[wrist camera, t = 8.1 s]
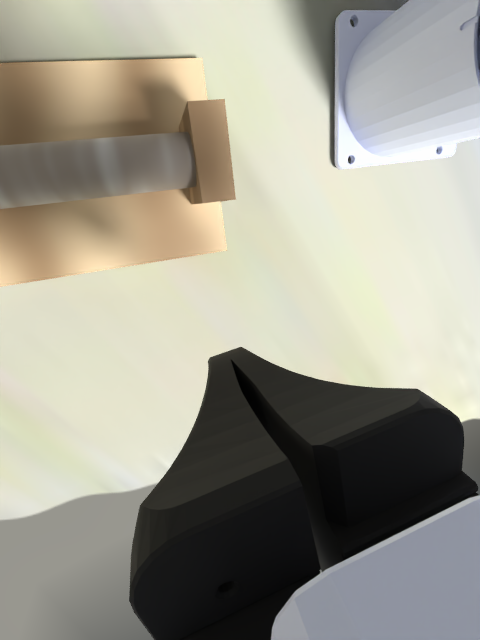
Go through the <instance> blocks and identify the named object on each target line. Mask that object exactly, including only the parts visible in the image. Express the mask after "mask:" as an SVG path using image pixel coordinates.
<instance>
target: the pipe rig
mask: <svg viewBox="0 0 480 640" xmlns="http://www.w3.org/2000/svg"><path fill="white" fill-rule="evenodd" d="M235 199H236V198H235V189H234V180H233V171H232V162H231V153H230V144H229V135H228V126H227V117H226V108H225V99H219V100H208V99H207V92H206V84H205V76H204V68H203V61H202V58H178V59H136V60H95V61H54V62H13V63H0V287H2V286H8V285H14V284H21V283H27V282H33V281H39V280H45V279H52V278H58V277H64V276H70V275H77V274H83V273H89V272H95V271H101V270H108V269H114V268H120V267H126V266H133V265H139V264H145V263H151V262H158V261H164V260H170V259H176V258H182V257H189V256H195V255H201V254H207V253H214V252H220V251H226V250H227V246H226V239H225V231H224V223H223V215H222V208H221V201H227V200H235Z"/></svg>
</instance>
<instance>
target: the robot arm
mask: <svg viewBox="0 0 480 640" xmlns="http://www.w3.org/2000/svg"><path fill="white" fill-rule="evenodd" d="M350 19H352V20H353V22H354V27H352V26H351V24H350ZM477 138H480V0H409V1H408V2H406V3H405V4H404V5H403V6H402V7H400V8H399V9H398V10H344V11H342V12H341V13H340V14H339V15H338V16H337V18H336V22H335V166H336V167H337V168H338V169H350V168H358V167H367V166H376V165H385V164H394V163H403V162H412V161H421V160H429V159H438V158H447V157H451V156H452V155H453V154H454V153H455V151H456V146H457V143H459V142H463V141H468V140H473V139H477ZM437 149H438V151H437V153H436V150H437ZM349 156H350V157H351V163H350V164H349V163H348V157H349ZM208 365H209V370H208V379H207V385H206V390H205V394H204V398H203V401H202V405H201V408H200V411H199V414H198V416H197V419H196V421H195V424H194V426H193V428H192V430H191V432H190V434H189V437H188V439H187V441H186V442H185V444H184V446H183V448H182V450H181V451H180V453H179V455H178V456H177V458H176V459H175V461H174V462H173V464H172V466H171V467H170V469H169V470H168V471H167V473H166V474H165V475H164V477H163V478H162V479H161V480H160V482H159V483H158V484H157V485H156V487H155V488H154V489H153V491H152V492H151V493H150V494H149V495H148V497H147V498H146V499H145V500H144V501H143V503H142V504H141V505H140V509H139V513H138V518H137V522H136V527H135V534H134V539H133V544H132V553H131V572H130V597H129V601H130V603H131V606H132V608H133V610H134V613H135V614H136V615H137V617H138V618H139V619H140V621H141V622H142V623H143V625H144V626H145V628H146V629H147V630H148V632H149V633H150V634H151V636H152V637H153V638H154V640H480V495H478V494H477V493H476V491H478V486H477V484H476V482H475V481H473V480H472V479H471V478H470V477H469V476H467V475H466V474H465V473H464V472H463V471H462V460H463V449H464V432H463V426H462V424H461V422H460V420H459V418H458V417H457V416H456V415H455V414H454V413H452V412H451V411H450V410H448V409H447V408H445V407H444V406H443V405H441V404H440V403H438V402H437V401H435V400H434V399H432V398H431V397H429V396H428V395H426V394H425V393H423V392H421V391H420V390H418V389H402V388H373V387H362V386H353V385H345V384H339V383H334V382H328V381H323V380H319V379H315V378H311V377H308V376H304V375H301V374H298V373H295V372H292V371H289V370H287V369H284V368H282V367H279V366H277V365H275V364H272V363H270V362H268V361H266V360H264V359H262V358H260V357H259V356H257V355H255V354H253V353H251V352H250V351H248V350H246V349H244V348H242V347H239V348H236V349H233V350H230V351H228V352H225V353H222V354H219V355H216V356H213V357H210V359H209V360H208ZM320 569H321V570H322V573H320V571H319V570H320Z"/></svg>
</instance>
